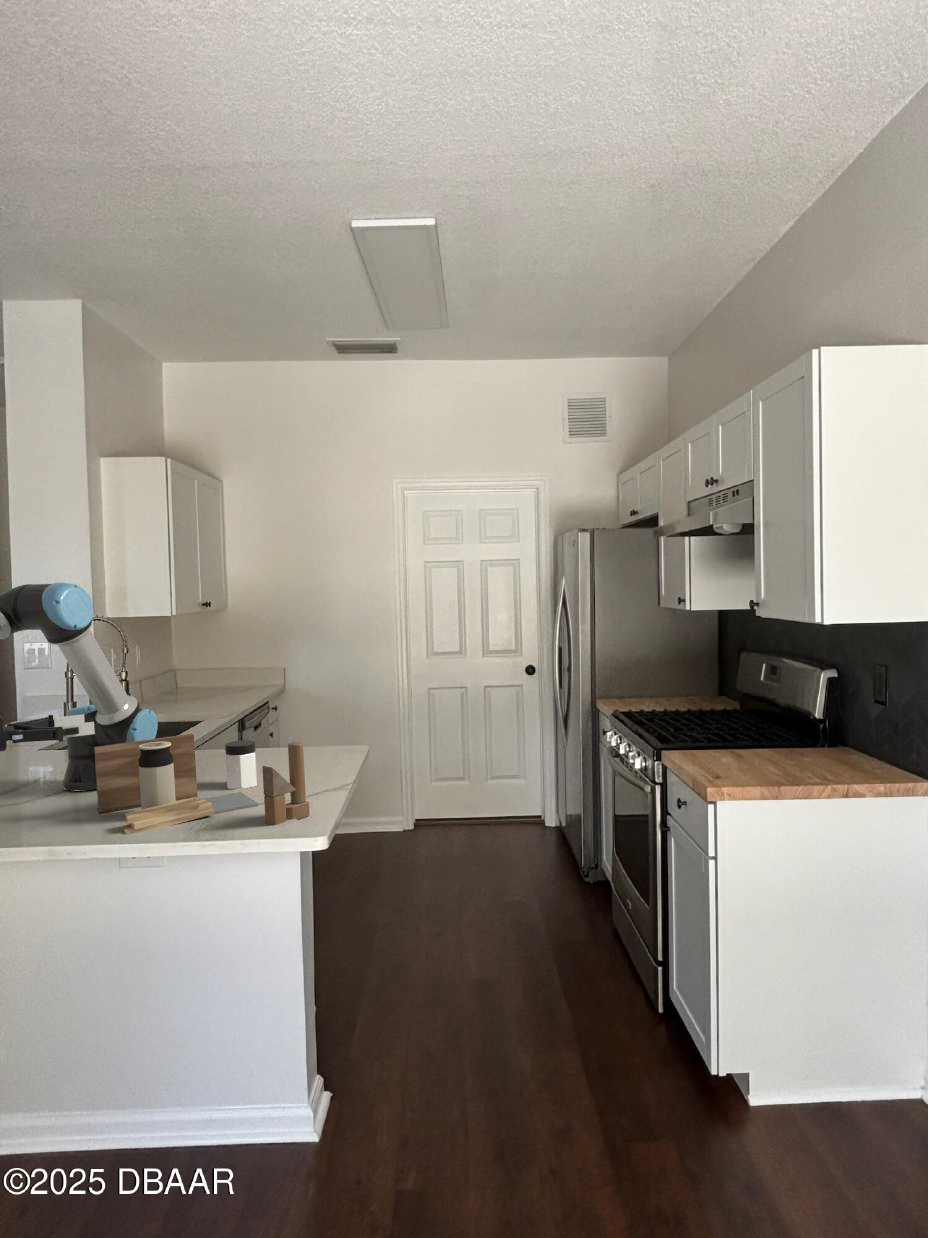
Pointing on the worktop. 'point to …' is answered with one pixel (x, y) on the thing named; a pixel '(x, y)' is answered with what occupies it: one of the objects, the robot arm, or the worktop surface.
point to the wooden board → (122, 772)
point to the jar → (241, 764)
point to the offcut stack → (166, 815)
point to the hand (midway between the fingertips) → (89, 723)
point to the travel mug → (156, 774)
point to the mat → (230, 802)
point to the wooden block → (286, 789)
